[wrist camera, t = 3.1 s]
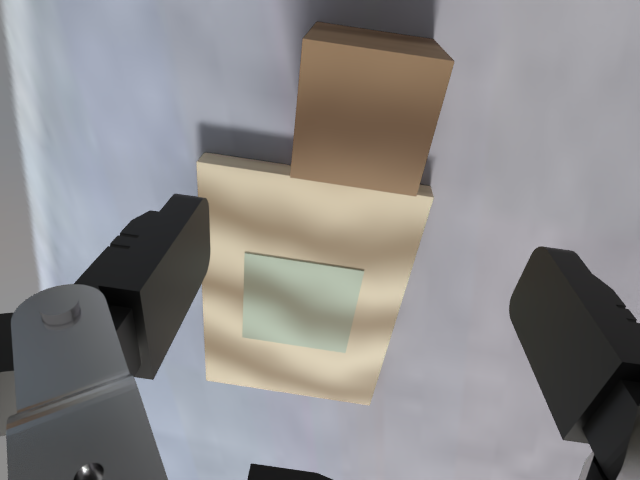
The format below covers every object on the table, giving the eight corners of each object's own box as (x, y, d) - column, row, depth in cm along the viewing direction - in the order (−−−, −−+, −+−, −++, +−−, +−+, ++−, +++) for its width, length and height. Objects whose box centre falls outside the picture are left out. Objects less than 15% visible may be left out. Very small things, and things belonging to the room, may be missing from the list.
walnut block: (316, 21, 21) (302, 38, 16) (433, 39, 21) (454, 61, 16) (304, 134, 25) (290, 177, 20) (405, 149, 25) (416, 196, 20)
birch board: (204, 152, 26) (196, 162, 24) (430, 186, 26) (434, 198, 24) (211, 366, 37) (205, 381, 35) (369, 390, 37) (369, 406, 35)
